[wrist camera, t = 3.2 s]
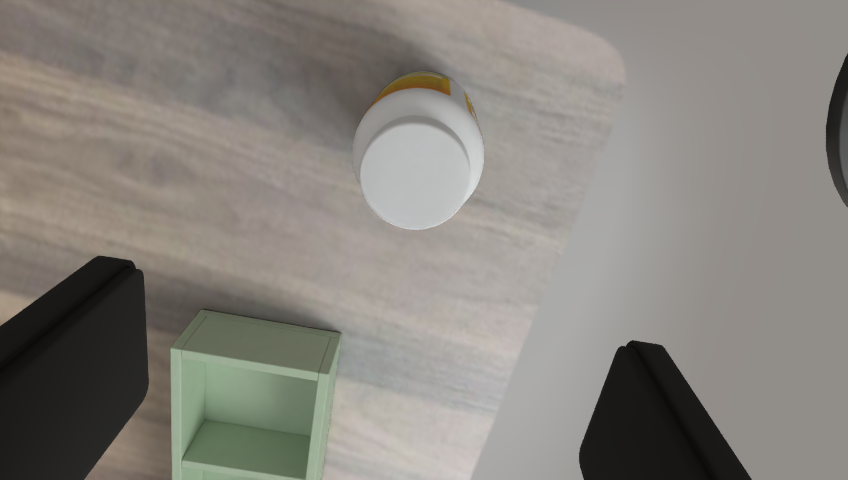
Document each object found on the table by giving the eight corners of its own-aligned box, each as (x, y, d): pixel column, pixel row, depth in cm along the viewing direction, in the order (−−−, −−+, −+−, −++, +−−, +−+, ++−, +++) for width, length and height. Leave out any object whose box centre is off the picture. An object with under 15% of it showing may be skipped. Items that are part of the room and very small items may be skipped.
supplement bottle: (350, 131, 28) (307, 188, 19) (415, 46, 26) (400, 66, 17) (430, 194, 29) (424, 275, 20) (497, 117, 28) (523, 169, 19)
